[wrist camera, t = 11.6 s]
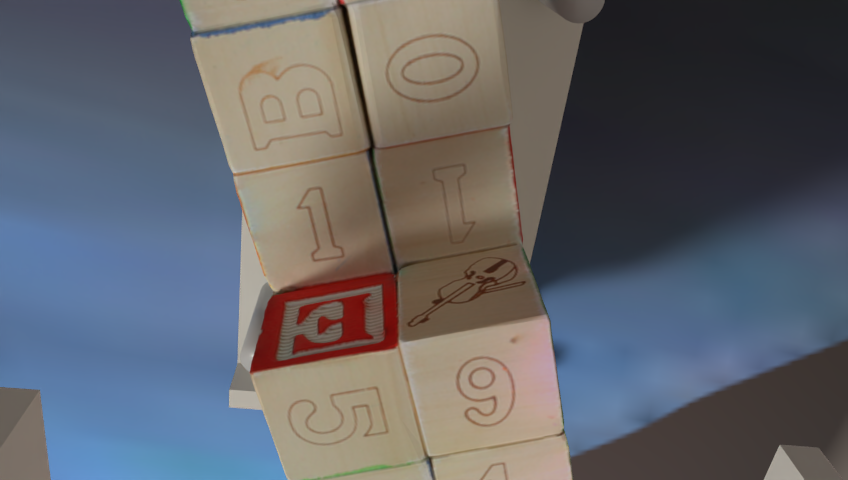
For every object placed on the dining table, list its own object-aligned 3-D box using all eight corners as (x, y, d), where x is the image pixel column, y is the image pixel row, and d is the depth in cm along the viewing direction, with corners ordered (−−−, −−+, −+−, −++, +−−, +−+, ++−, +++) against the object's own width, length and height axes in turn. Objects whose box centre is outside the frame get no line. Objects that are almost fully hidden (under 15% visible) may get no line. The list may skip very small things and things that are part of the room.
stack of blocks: (232, -130, 21) (62, -157, 10) (443, -169, 21) (507, -241, 10) (373, 432, 30) (366, 741, 19) (520, 408, 30) (598, 706, 19)
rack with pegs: (261, -215, 25) (226, -246, 20) (614, -157, 27) (674, -171, 21) (241, 366, 36) (215, 452, 30) (495, 387, 37) (515, 473, 32)
